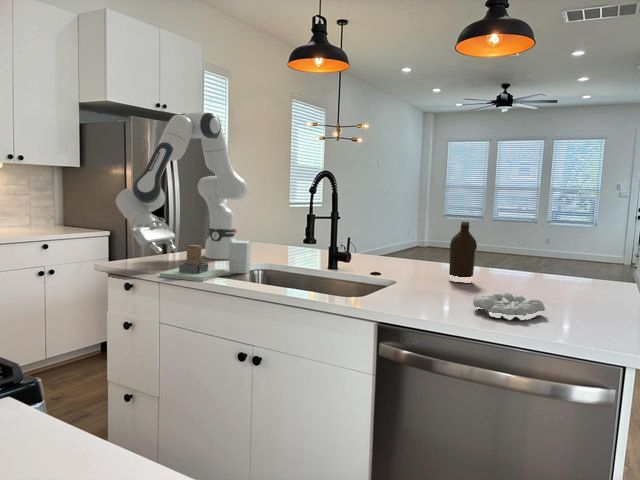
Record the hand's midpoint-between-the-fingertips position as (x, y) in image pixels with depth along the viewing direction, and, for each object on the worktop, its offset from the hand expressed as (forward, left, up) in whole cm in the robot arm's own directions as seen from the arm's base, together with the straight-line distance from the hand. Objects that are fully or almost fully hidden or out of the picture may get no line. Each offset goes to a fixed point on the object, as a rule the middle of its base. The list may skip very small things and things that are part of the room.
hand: (167, 251), depth 194 cm
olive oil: (-43, +112, -9) cm, 120 cm away
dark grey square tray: (0, +12, -7) cm, 14 cm away
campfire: (+7, +126, -9) cm, 126 cm away
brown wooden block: (0, +12, -7) cm, 14 cm away
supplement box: (-16, +24, -9) cm, 30 cm away
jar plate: (0, +12, -8) cm, 14 cm away
